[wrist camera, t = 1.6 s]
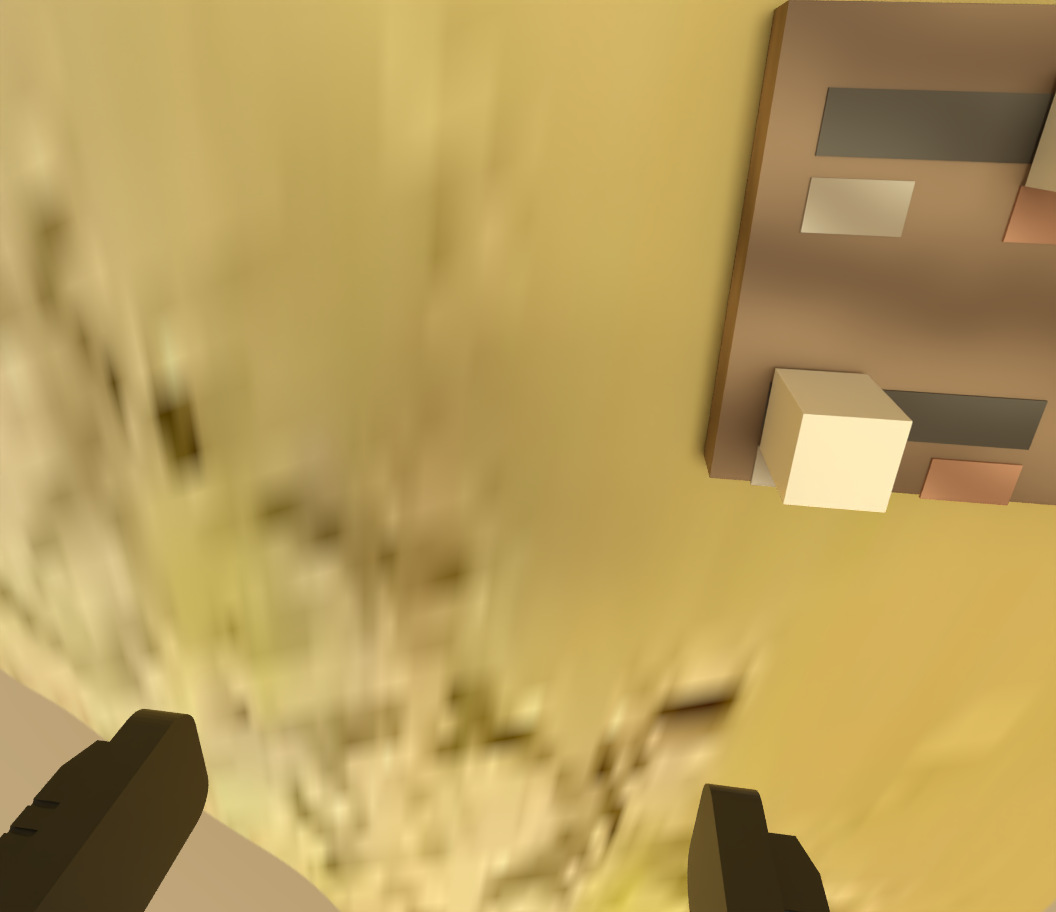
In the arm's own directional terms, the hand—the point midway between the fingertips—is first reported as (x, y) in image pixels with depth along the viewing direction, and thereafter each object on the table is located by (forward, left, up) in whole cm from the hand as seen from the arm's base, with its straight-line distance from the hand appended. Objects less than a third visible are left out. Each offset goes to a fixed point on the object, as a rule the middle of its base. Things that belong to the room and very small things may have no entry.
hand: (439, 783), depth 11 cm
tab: (0, +9, -16) cm, 19 cm away
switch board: (-5, +15, -18) cm, 24 cm away
